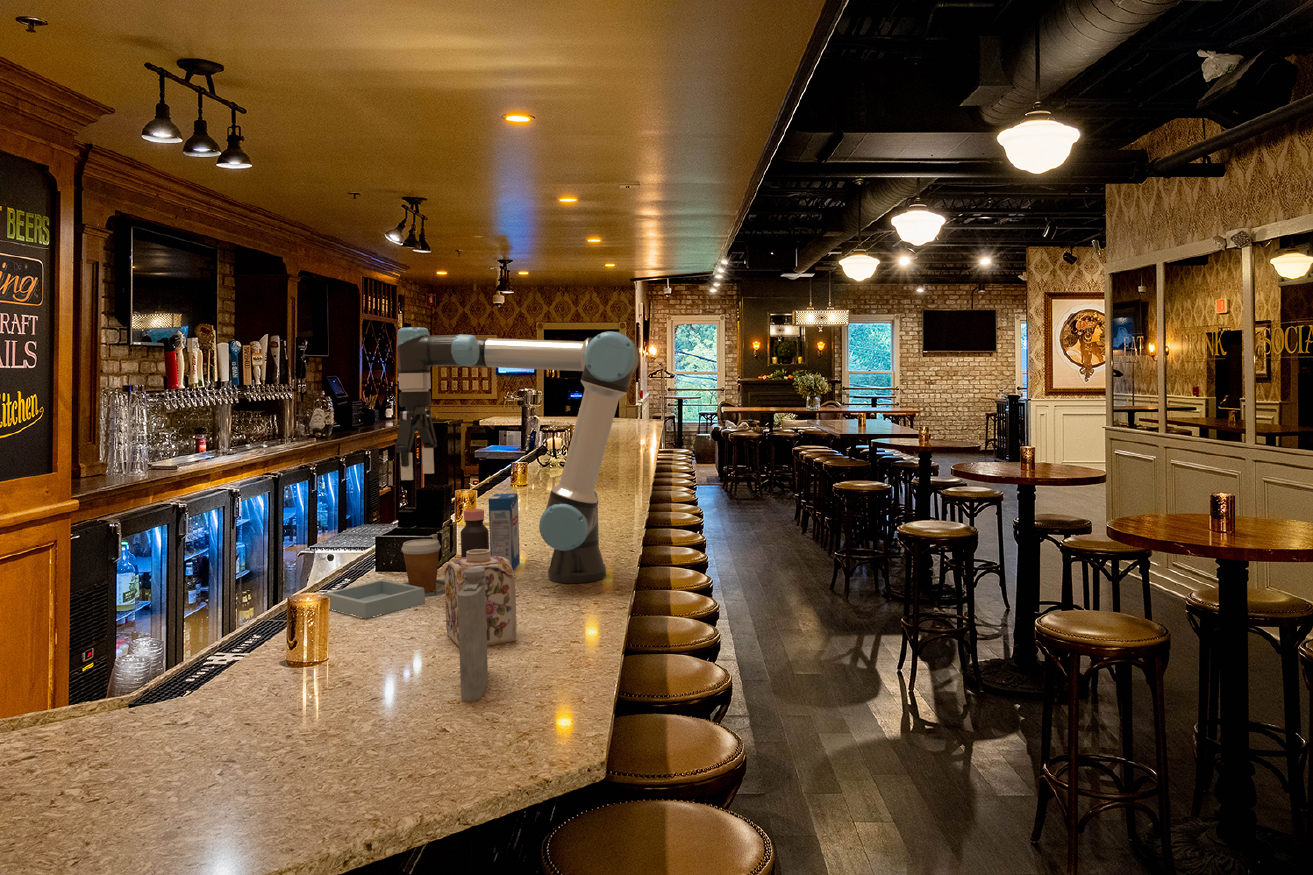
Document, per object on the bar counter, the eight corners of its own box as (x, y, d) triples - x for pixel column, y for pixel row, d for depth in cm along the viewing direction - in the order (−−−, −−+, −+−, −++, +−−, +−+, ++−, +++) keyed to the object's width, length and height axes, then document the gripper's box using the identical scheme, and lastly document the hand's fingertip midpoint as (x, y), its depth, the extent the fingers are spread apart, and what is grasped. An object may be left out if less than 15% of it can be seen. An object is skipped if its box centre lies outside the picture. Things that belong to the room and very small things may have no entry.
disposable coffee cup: (447, 585, 216) (446, 538, 215) (434, 594, 206) (432, 546, 205) (411, 584, 217) (410, 538, 216) (396, 594, 207) (394, 546, 206)
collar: (464, 587, 213) (464, 584, 213) (417, 600, 201) (417, 596, 201) (427, 579, 222) (427, 576, 221) (380, 591, 210) (380, 588, 210)
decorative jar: (459, 651, 163) (456, 559, 161) (445, 635, 173) (441, 548, 172) (519, 641, 168) (516, 552, 167) (501, 626, 178) (498, 542, 177)
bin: (424, 603, 198) (424, 587, 198) (365, 619, 186) (364, 603, 185) (383, 593, 208) (382, 579, 208) (324, 608, 195) (323, 593, 195)
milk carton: (513, 570, 230) (511, 498, 229) (490, 571, 230) (488, 498, 229) (519, 562, 240) (517, 493, 239) (498, 563, 240) (495, 493, 239)
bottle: (457, 592, 208) (454, 511, 206) (472, 585, 214) (470, 507, 213) (480, 594, 205) (477, 513, 204) (495, 587, 212) (493, 508, 210)
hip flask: (468, 669, 152) (464, 559, 151) (491, 667, 153) (487, 558, 152) (460, 702, 137) (455, 580, 135) (485, 700, 137) (481, 579, 136)
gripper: (419, 390, 220) (422, 470, 222) (378, 392, 196) (381, 482, 197) (447, 389, 220) (450, 470, 221) (409, 391, 195) (412, 482, 196)
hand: (418, 476), depth 209 cm, fingers open, 13 cm apart
